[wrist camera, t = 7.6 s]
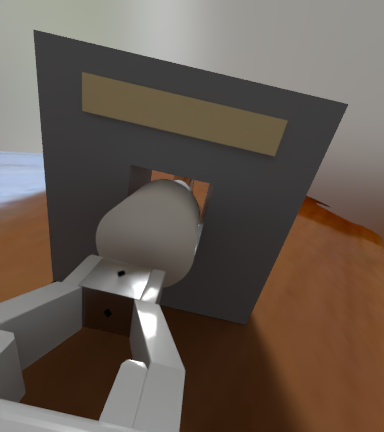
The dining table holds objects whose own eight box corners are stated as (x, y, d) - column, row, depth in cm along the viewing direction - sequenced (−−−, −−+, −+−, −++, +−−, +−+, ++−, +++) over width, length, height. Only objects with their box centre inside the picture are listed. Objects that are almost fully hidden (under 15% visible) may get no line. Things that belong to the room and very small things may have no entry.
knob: (183, 297, 11) (205, 216, 9) (94, 277, 11) (96, 190, 9) (196, 219, 21) (207, 173, 19) (150, 208, 21) (157, 161, 19)
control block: (246, 328, 18) (353, 103, 11) (49, 283, 17) (27, 26, 11) (237, 280, 23) (301, 114, 16) (90, 246, 23) (93, 65, 16)
